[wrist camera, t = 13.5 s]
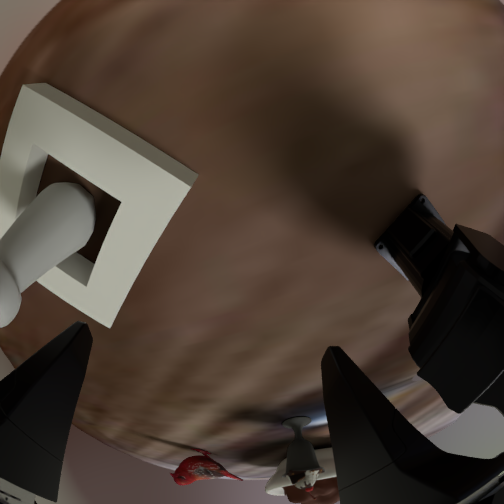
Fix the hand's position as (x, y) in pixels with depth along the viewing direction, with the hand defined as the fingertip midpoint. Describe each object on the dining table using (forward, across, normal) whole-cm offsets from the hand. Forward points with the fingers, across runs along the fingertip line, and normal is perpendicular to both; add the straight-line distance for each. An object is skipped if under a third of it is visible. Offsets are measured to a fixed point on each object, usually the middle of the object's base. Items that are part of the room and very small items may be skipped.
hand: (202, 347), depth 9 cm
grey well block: (+13, +13, +1) cm, 18 cm away
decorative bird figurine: (+13, +1, +55) cm, 57 cm away
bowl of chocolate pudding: (+13, -24, +58) cm, 64 cm away
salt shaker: (+13, +13, +1) cm, 18 cm away
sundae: (+13, -14, +36) cm, 41 cm away
